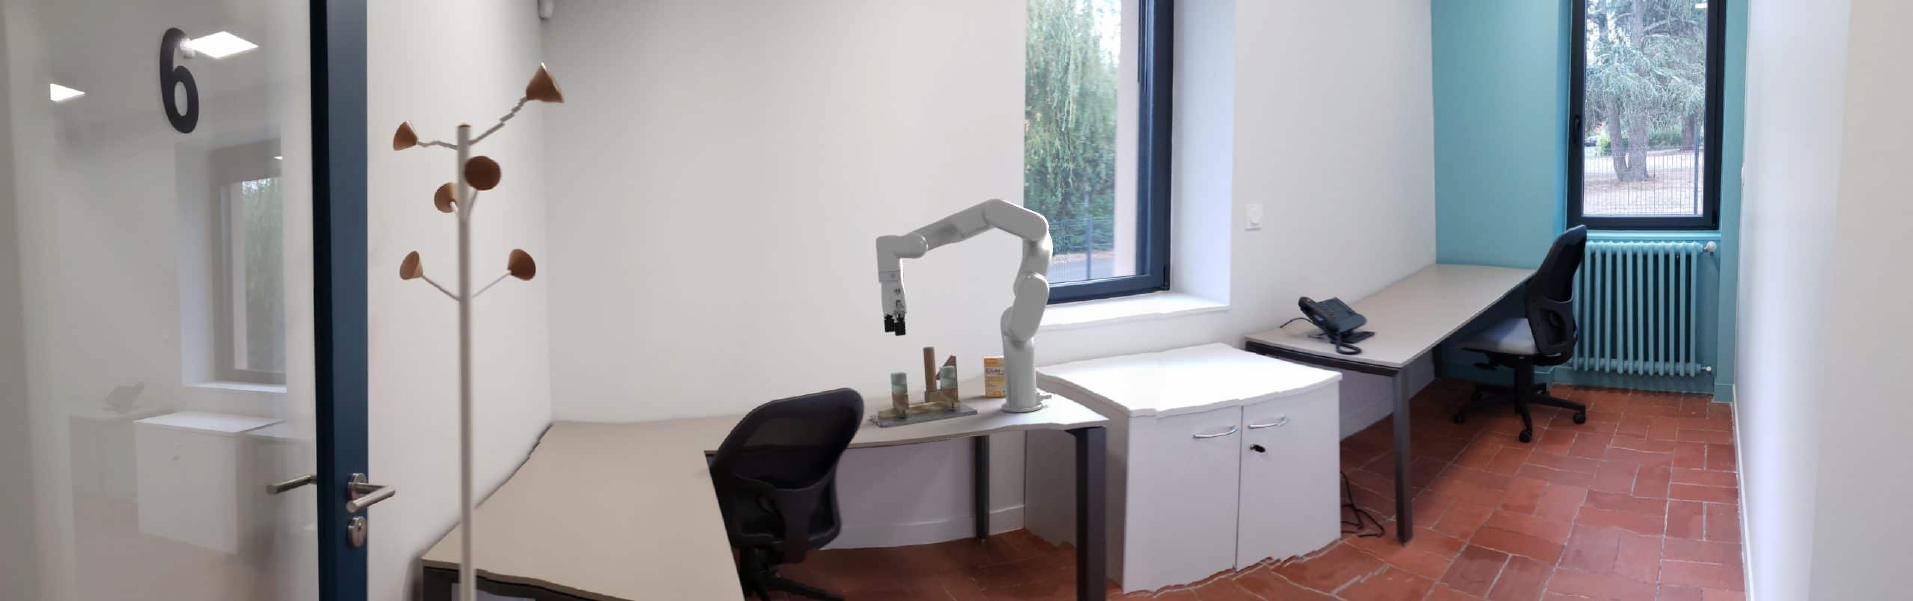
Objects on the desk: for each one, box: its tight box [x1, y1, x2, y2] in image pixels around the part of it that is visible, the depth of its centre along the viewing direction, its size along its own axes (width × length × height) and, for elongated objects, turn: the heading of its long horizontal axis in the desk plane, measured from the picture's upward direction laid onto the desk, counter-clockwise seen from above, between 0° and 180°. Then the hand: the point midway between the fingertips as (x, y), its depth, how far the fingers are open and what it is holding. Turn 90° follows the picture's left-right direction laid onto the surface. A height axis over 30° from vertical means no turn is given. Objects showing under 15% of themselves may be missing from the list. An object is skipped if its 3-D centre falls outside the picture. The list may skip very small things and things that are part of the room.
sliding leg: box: [890, 371, 910, 416], centre depth 316 cm, size 4×6×12 cm, turn 22°
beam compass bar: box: [877, 366, 961, 418], centre depth 319 cm, size 26×7×13 cm, turn 112°
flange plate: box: [868, 402, 978, 427], centre depth 319 cm, size 30×14×1 cm, turn 112°
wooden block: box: [922, 346, 960, 403], centre depth 339 cm, size 4×11×18 cm, turn 117°
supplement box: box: [983, 355, 1006, 398], centre depth 341 cm, size 8×5×13 cm, turn 81°
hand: (895, 333), depth 314 cm, fingers open, 9 cm apart
